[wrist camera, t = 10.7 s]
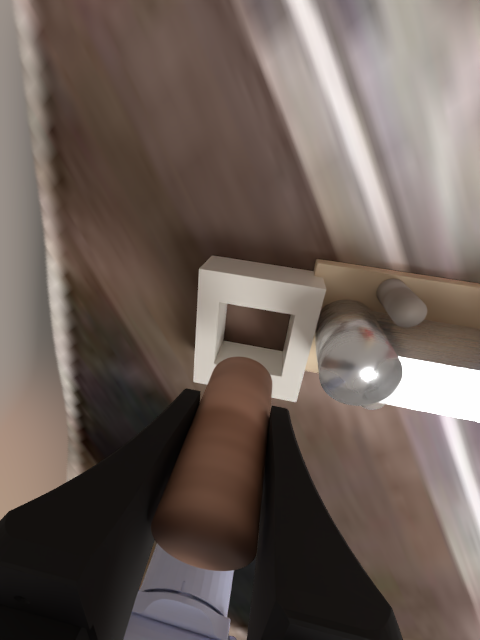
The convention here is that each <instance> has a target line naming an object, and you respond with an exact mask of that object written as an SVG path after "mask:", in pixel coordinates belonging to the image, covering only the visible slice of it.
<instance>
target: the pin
mask: <svg viewBox="0 0 480 640" xmlns="http://www.w3.org/2000/svg"><path fill="white" fill-rule="evenodd" d="M271 396H272V378H271V376H270V373H269V372H268V370H267V369H266V368H265V367H264V366H263V365H262V364H260V363H259V362H257V361H255V360H253V359H251V358H247V357H240V356H238V357H230V358H227V359H224V360H223V361H221V362H220V363H218V364H217V365H216V367H215V368H214V370H213V372H212V375H211V377H210V380H209V382H208V385H207V387H206V389H205V392H204V394H203V397H202V399H201V402H200V404H199V407H198V409H197V412H196V414H195V417H194V419H193V421H192V424H191V426H190V429H189V431H188V434H187V436H186V439H185V441H184V444H183V446H182V449H181V451H180V453H179V456H178V458H177V461H176V463H175V466H174V468H173V471H172V473H171V476H170V478H169V481H168V483H167V485H166V488H165V490H164V493H163V495H162V498H161V500H160V503H159V505H158V508H157V510H156V513H155V515H154V517H153V520H152V523H151V532H152V535H153V537H154V539H155V541H156V542H157V543H158V545H159V546H160V547H161V548H162V549H163V550H164V551H166V552H167V553H168V554H170V555H171V556H172V557H174V558H176V559H178V560H180V561H182V562H184V563H186V564H189V565H191V566H194V567H198V568H201V569H206V570H213V571H231V570H237V569H240V568H243V567H245V566H247V565H248V564H250V563H251V562H252V561H253V560H254V558H255V556H256V553H257V544H258V533H259V522H260V512H261V501H262V491H263V480H264V470H265V459H266V449H267V436H268V426H269V417H270V406H271Z"/></svg>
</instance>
